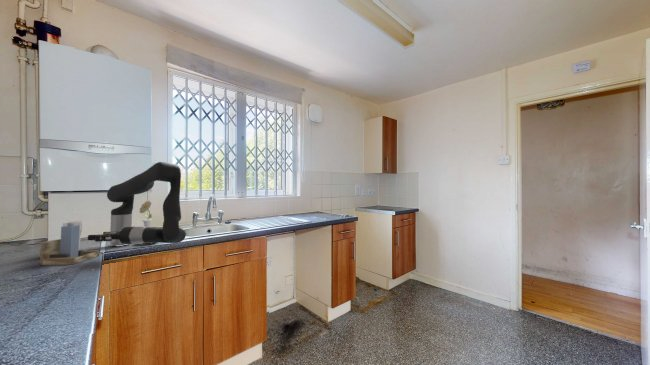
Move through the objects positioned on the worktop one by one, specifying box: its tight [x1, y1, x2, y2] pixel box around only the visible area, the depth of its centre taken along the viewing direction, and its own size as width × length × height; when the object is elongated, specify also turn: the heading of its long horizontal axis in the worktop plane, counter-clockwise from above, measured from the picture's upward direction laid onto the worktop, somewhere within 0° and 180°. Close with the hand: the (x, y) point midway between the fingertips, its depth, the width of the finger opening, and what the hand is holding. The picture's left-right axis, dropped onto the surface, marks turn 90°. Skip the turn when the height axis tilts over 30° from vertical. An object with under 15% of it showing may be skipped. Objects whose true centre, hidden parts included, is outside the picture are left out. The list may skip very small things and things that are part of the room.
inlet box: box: [39, 238, 100, 266], centre depth 110 cm, size 14×12×9 cm
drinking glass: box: [62, 220, 83, 250], centre depth 124 cm, size 7×7×15 cm
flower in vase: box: [138, 200, 153, 227], centre depth 146 cm, size 13×11×25 cm
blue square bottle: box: [60, 221, 80, 258], centre depth 110 cm, size 4×4×16 cm
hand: (96, 235), depth 112 cm, fingers open, 8 cm apart
